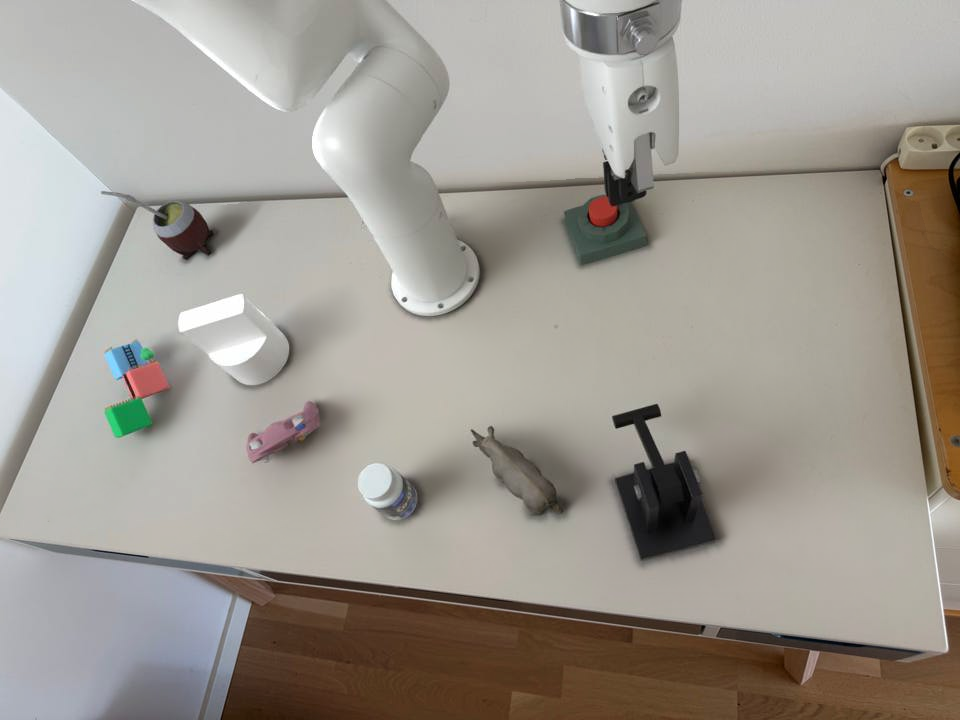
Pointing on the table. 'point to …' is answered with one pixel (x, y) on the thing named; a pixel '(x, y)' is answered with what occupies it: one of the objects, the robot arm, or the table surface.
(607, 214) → the button
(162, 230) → the mate gourd
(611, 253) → the button block
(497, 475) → the rhino figurine
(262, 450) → the pink toy car
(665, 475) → the lever
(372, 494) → the pill bottle
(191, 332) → the white rounded block
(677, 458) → the bracket
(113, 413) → the building blocks
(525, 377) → the table surface
